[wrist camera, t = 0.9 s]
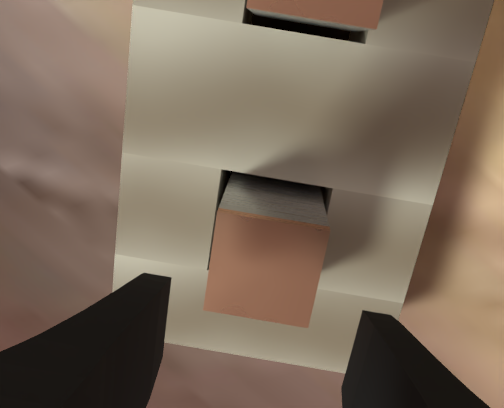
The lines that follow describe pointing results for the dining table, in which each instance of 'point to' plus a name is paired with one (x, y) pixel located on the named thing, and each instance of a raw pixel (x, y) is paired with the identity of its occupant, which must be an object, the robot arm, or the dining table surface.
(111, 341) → the robot arm
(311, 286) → the far peg
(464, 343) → the dining table surface
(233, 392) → the dining table surface
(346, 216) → the socket board
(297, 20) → the near peg
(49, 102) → the dining table surface
